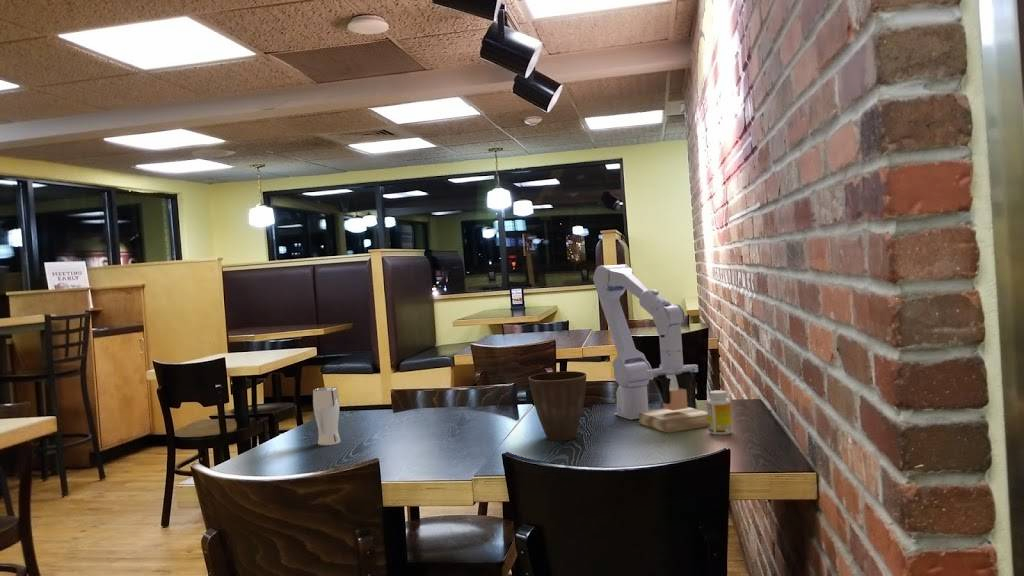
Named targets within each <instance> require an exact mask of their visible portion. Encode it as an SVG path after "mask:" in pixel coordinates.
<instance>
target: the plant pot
mask: <svg viewBox="0 0 1024 576" xmlns="http://www.w3.org/2000/svg"><path fill="white" fill-rule="evenodd" d="M527 380H528V383H529V388H530V393H531V397H532V400H533V403H534V408H535V411H536V413H537V417H538V420H539V422H540V425H541V427H542V430H543V432H544V434H545V437H546V438H547V439H548V440H549V441H555V442H556V441H569V440H572V439H575V438H576V437H577V433H578V430H579V428H580V423H581V418H582V414H583V409H584V406H585V405H584V404H585V398H586V389H587V387H586V386H587V373H586V372H582V371H573V370H572V371H568V370H567V371H562V370H561V371H551V372H549V371H548V372H544V373H543V372H542V373H537V374H533V375H530V376H528V379H527Z"/></svg>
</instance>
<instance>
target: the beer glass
mask: <svg viewBox="0 0 1024 576" xmlns="http://www.w3.org/2000/svg"><path fill="white" fill-rule="evenodd" d="M312 407H313V414H314V416H315V417H314V418H315V422H316V424H317V425H316V426H317V431H318V437H317V438H318V440H317V444H318V446H322V447H323V446H334V445H337V444H340V443H341V437H340V433H339V419H340V397H339V390H338V387H337V386H327V387H325V386H324V387H318V388H314V389H313V390H312Z"/></svg>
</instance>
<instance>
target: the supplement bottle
mask: <svg viewBox="0 0 1024 576" xmlns="http://www.w3.org/2000/svg"><path fill="white" fill-rule="evenodd" d="M706 409H707V411H706V412H708V425H709V426H708V432H709V433H710V434H712V435H716V436H723V435H724V436H725V435H726V436H727V435H729V434H731V433H732V432H733V419H732V409H731V400H730V399H729V398H727V391H726V390H716V389H715V390H711V391H709V399H708V400H706Z"/></svg>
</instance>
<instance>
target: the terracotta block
mask: <svg viewBox="0 0 1024 576" xmlns="http://www.w3.org/2000/svg"><path fill="white" fill-rule="evenodd" d="M669 395H670V404H665V403H663V402H662V406H663V407H662V409H669V410H679V409H685V408H687V407H688V394H687V393H686V389H683V388H678V387H674V388H669Z"/></svg>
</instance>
